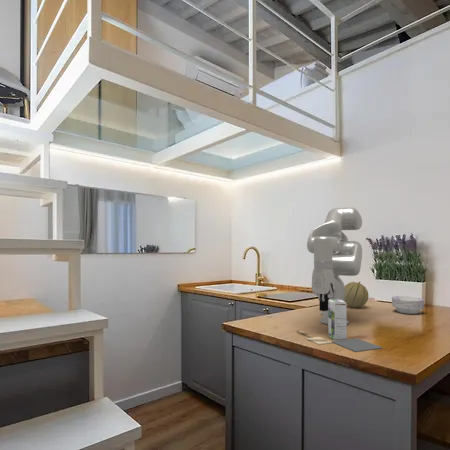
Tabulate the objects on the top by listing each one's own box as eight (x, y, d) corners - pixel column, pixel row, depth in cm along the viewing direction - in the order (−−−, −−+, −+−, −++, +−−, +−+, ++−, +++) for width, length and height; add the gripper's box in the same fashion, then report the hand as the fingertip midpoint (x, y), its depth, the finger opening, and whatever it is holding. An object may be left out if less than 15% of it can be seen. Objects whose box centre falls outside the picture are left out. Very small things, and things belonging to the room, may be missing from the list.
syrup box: (327, 336, 137) (327, 299, 138) (342, 336, 137) (342, 299, 138) (332, 340, 131) (331, 301, 132) (347, 340, 131) (346, 301, 132)
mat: (330, 341, 129) (330, 341, 129) (356, 338, 133) (356, 338, 133) (355, 352, 117) (355, 351, 117) (382, 348, 121) (382, 347, 121)
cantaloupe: (337, 305, 206) (337, 280, 207) (360, 304, 208) (360, 280, 209) (348, 310, 191) (348, 283, 192) (373, 309, 193) (373, 282, 194)
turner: (292, 333, 142) (292, 331, 142) (304, 331, 144) (304, 329, 144) (318, 344, 125) (318, 342, 125) (332, 343, 127) (332, 341, 127)
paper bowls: (430, 315, 177) (429, 299, 178) (400, 315, 177) (400, 299, 178) (414, 309, 192) (414, 295, 193) (387, 309, 193) (386, 295, 193)
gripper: (305, 265, 149) (305, 308, 148) (327, 267, 135) (327, 314, 134) (319, 265, 152) (320, 307, 151) (342, 266, 138) (343, 313, 137)
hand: (323, 310), depth 142 cm, fingers closed
